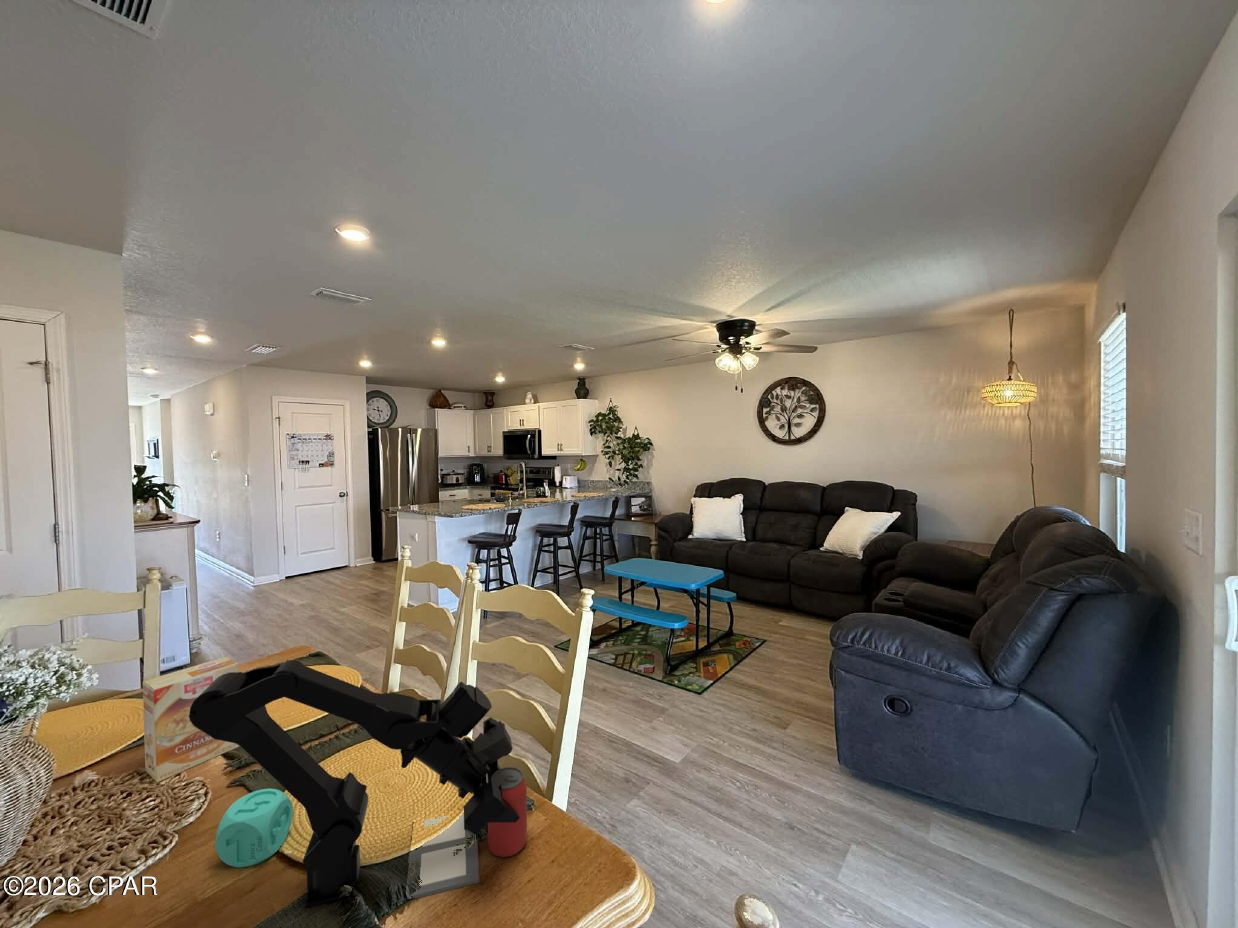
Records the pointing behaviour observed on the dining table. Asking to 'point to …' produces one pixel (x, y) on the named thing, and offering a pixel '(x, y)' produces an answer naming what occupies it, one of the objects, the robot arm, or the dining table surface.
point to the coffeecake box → (179, 719)
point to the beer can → (507, 834)
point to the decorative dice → (254, 827)
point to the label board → (446, 860)
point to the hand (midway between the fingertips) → (515, 805)
